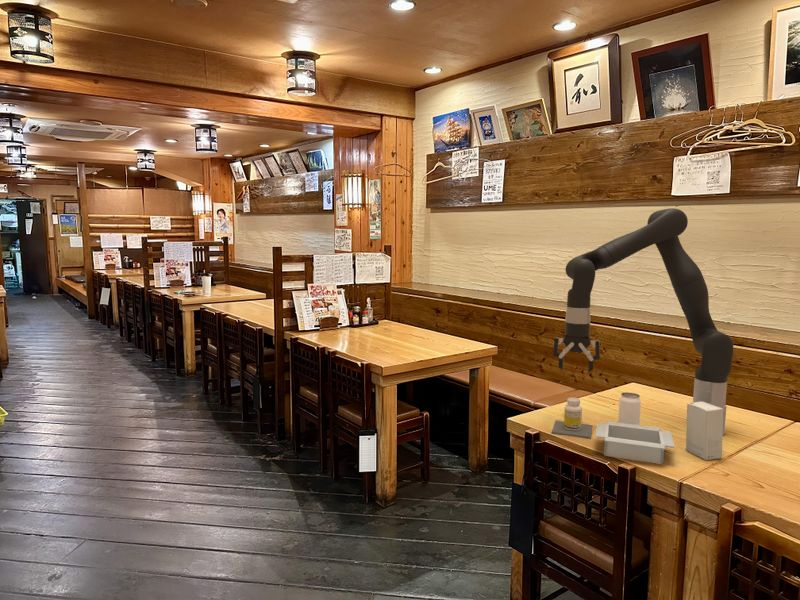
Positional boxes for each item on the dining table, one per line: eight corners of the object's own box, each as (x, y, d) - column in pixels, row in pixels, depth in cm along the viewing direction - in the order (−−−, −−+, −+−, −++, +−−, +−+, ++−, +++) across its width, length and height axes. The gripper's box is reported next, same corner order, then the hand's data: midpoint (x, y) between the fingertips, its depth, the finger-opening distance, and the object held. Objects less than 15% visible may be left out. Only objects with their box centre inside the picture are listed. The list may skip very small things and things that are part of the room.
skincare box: (722, 459, 159) (726, 409, 158) (704, 461, 158) (708, 410, 156) (700, 448, 168) (704, 400, 166) (683, 449, 166) (686, 401, 164)
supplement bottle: (568, 424, 186) (570, 395, 184) (584, 428, 182) (585, 399, 181) (560, 428, 182) (562, 399, 181) (576, 432, 178) (577, 402, 177)
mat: (592, 426, 185) (592, 424, 185) (590, 439, 174) (590, 437, 174) (555, 421, 190) (555, 420, 190) (551, 433, 179) (551, 431, 178)
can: (640, 434, 178) (643, 398, 177) (619, 433, 180) (621, 397, 178) (636, 427, 185) (638, 392, 183) (616, 426, 186) (618, 391, 184)
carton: (668, 446, 169) (670, 429, 168) (673, 469, 152) (675, 449, 152) (596, 436, 176) (597, 420, 175) (594, 457, 160) (595, 439, 159)
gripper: (601, 320, 178) (599, 370, 180) (556, 318, 184) (554, 366, 185) (601, 324, 171) (598, 375, 173) (553, 321, 177) (551, 371, 179)
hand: (575, 370), depth 179 cm, fingers open, 8 cm apart
